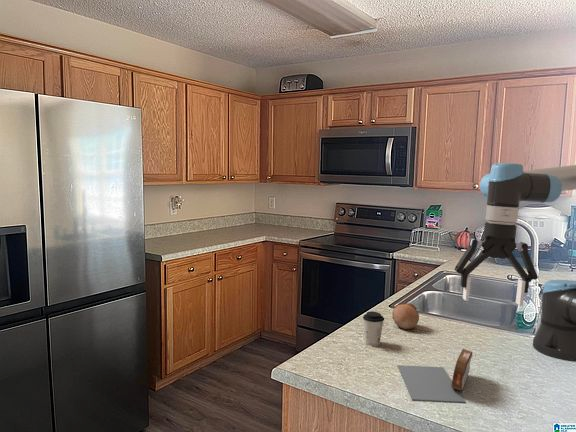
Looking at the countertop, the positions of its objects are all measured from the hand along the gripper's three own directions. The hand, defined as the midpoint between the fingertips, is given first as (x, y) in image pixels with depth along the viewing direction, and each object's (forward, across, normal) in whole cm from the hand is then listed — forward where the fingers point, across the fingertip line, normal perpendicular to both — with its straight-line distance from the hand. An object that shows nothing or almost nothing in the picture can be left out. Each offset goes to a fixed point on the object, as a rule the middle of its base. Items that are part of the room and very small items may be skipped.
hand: (492, 302), depth 114 cm
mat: (+23, -15, -2) cm, 28 cm away
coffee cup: (+24, -28, +23) cm, 43 cm away
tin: (+23, -6, -1) cm, 24 cm away
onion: (+23, -15, +40) cm, 49 cm away
